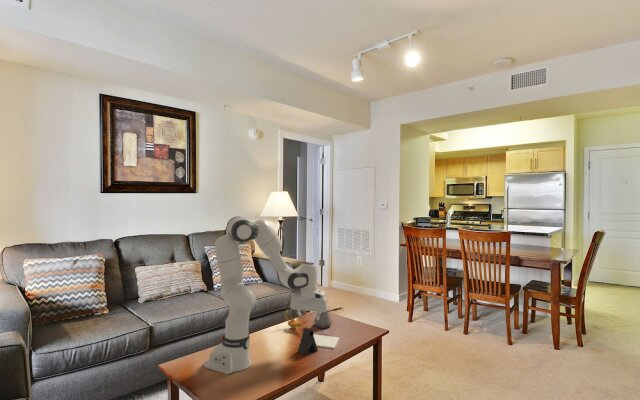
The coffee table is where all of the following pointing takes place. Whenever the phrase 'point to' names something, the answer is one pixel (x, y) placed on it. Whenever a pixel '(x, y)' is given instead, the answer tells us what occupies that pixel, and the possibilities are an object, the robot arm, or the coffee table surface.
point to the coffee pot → (324, 319)
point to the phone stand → (307, 342)
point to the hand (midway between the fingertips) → (308, 318)
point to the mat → (326, 341)
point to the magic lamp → (293, 323)
